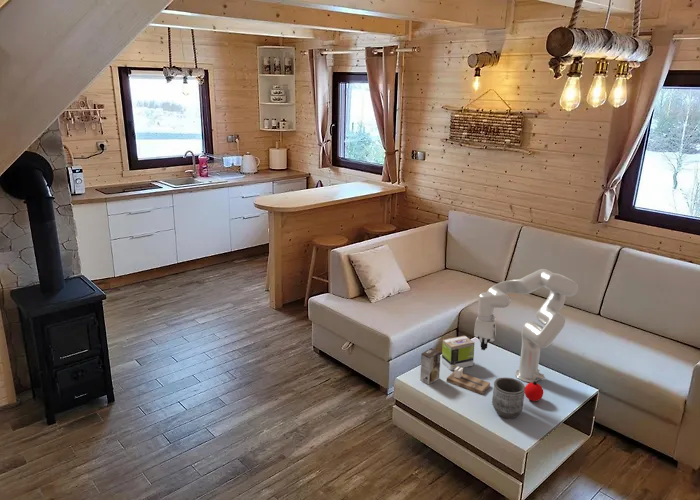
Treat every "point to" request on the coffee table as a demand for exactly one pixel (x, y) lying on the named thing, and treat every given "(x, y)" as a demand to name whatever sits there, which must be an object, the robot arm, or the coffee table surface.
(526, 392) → the ornament
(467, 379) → the fader console
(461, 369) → the fader
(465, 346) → the tea box
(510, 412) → the planter
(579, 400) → the coffee table surface
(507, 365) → the coffee table surface
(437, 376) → the coffee box
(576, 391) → the coffee table surface
